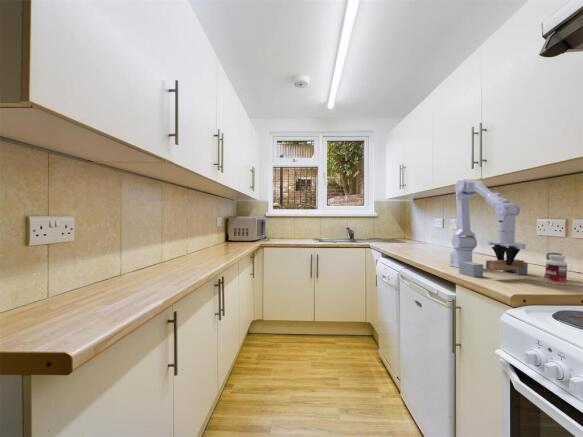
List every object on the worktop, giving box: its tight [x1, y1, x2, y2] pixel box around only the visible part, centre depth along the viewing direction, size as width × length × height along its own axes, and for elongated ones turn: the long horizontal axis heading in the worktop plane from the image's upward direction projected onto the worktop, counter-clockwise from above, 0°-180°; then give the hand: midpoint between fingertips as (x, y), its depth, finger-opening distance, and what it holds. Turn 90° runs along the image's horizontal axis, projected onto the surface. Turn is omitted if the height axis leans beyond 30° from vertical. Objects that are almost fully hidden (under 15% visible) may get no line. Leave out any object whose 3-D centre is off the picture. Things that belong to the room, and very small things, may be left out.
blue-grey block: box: [458, 261, 484, 278], centre depth 124 cm, size 7×5×5 cm
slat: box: [485, 259, 525, 271], centre depth 118 cm, size 3×16×4 cm, turn 103°
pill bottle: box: [544, 254, 568, 286], centre depth 111 cm, size 6×6×11 cm
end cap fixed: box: [502, 261, 529, 276], centre depth 130 cm, size 7×5×5 cm
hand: (505, 264), depth 118 cm, fingers closed on slat, 3 cm apart
